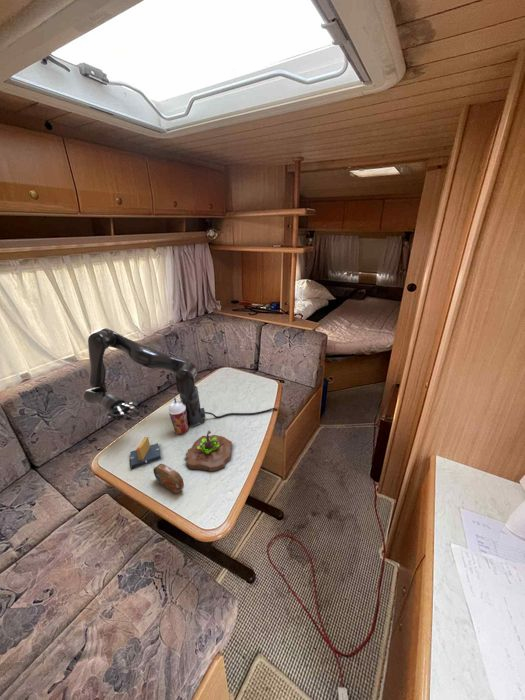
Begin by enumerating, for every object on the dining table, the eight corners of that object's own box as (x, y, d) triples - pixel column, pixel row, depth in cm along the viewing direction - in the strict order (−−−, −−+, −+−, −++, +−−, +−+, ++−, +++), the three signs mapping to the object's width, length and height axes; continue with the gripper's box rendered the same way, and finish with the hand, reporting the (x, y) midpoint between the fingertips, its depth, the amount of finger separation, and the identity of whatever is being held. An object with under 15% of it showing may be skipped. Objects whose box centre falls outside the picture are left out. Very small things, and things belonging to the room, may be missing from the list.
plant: (237, 441, 131) (236, 422, 126) (224, 474, 113) (221, 453, 109) (198, 436, 135) (196, 417, 130) (180, 467, 117) (176, 447, 113)
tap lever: (147, 447, 126) (144, 436, 124) (150, 447, 126) (148, 436, 124) (139, 460, 119) (136, 449, 116) (142, 460, 119) (139, 449, 116)
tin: (154, 480, 112) (150, 464, 108) (161, 474, 114) (157, 459, 111) (180, 496, 104) (177, 480, 101) (186, 490, 107) (183, 474, 103)
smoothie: (193, 426, 141) (187, 394, 133) (184, 437, 134) (176, 404, 126) (179, 423, 144) (172, 392, 136) (169, 434, 137) (161, 401, 129)
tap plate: (158, 444, 131) (157, 440, 130) (161, 461, 121) (160, 457, 120) (130, 452, 126) (129, 449, 125) (132, 471, 116) (130, 468, 115)
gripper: (95, 405, 124) (116, 417, 115) (125, 390, 135) (146, 401, 126) (100, 418, 127) (121, 431, 118) (128, 403, 138) (149, 414, 129)
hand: (133, 415), depth 122 cm, fingers open, 3 cm apart
